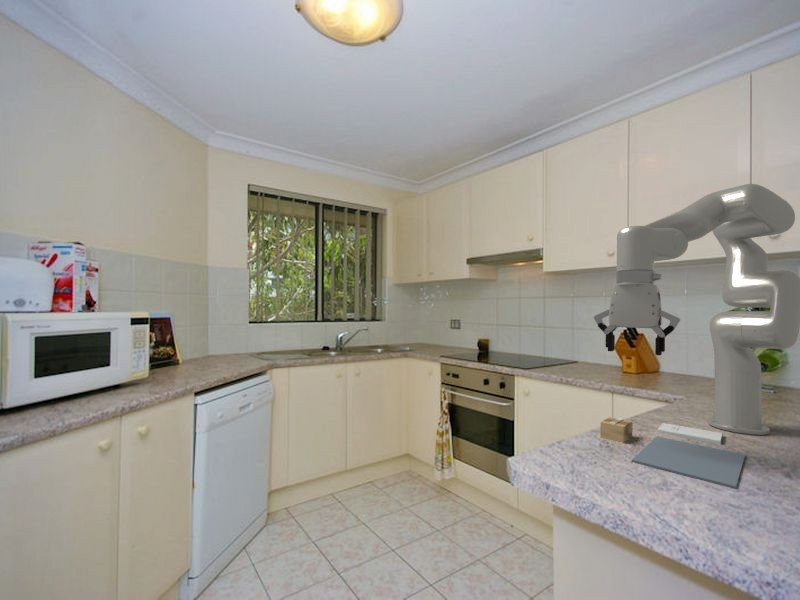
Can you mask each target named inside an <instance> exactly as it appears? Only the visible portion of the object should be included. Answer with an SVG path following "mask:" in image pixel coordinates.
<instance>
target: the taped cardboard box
mask: <svg viewBox="0 0 800 600" xmlns="http://www.w3.org/2000/svg"><path fill="white" fill-rule="evenodd" d="M631 437H632V438H633V420H627V419H624V418H619V417H613V416H610V417H607V418H605V419H603V420H602V421H600V438H601V439H604V440H608V441H612V440H613V441H612V442H616V441H618V442H617V443H620V442H622V444H625V443H626V442H627V441H628V439H629V440H630V439H631ZM625 441H626V442H625Z"/></svg>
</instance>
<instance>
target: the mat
mask: <svg viewBox="0 0 800 600" xmlns="http://www.w3.org/2000/svg"><path fill="white" fill-rule="evenodd" d="M745 458H746V454H743V453H739V452H735V451H729V450H724V449H719V448H714V447H710V446H705V445H700V444H695V443H691V442H686V441H681V440H676V439H671V438H667V437H662V436H656V437H654V439H653V440H651V441H650V442H649V443H648V444H647V445H646V446H645V447H644V448H642V450H641V451H639V452H638V453H637V454H636V455H635V456H634V457H633V458H632V459H631V462H632V463H636V464H640V465H643V466H647V467H650V468H655V469H658V470H663V471H666V472H670V473H674V474H678V475H682V476H686V477H690V478H693V479H698V480H700V481H705V482H708V483H712V484H713V483H714V484H715V485H720V486H725V487H728V488H731V489H737V485H738V483H739V479H740V475H741V472H742V469H743V465H744V463H745V462H744V461H745Z"/></svg>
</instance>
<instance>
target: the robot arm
mask: <svg viewBox="0 0 800 600" xmlns="http://www.w3.org/2000/svg"><path fill="white" fill-rule="evenodd" d="M795 213H796V212H795V210H794V208H793V207H792V205H791V204H790V203H789V202H788V201H787V200H785V199H784V198H782V197H781V196H779V195H778V194H776V193H775V192H774V191H772V190H770V189H769V188H767V187H765V186H762V185H760V184H756V183H747V184H742V185H737V186H734V187H730V188H725V189H722V190H717V191H714V192H711V193H709V194H706V195H704V196H703V197H701V198H699V199H698V200H696V201H694V202H693V203H691V204H689V205H688V206H686V207H684V208H683V209H681V210H679V211H676V212H674V213H671V214H669V215H666V216H665V217H664V216H663V217H662V218H659V219H657V220H655V221H653V222H650V223H648V224H646V225H632V226H627V227H623V228H621V229H619V231H618V232H617V235H616V274H615V275H616V278H615V279H616V282H615V283H616V284H615V285H613V286H612V290H611V296H610V302H609V308H608V309H606V310H604V311H603V312H600V313H598V314H596V315H594V316H593V319H594V321H595V323H596V325H597V327H598V328H599V329H600V330H601V331H602V332H603V334H605V348H607V351H608V352H614V351H615V349H616V346H615V345H616V344H615V341H616V339H615V334H614V332H615V331H616V330H617V329H618V328H628V329H629V328H631V329H633V328H635V329H636V328H637V329H652V331H654V333H655V334H656V337H655V345H654V347H655V349H654V350H655V352H654V353H655V355H656V356H662V355H663V353H665V352H666V338H667V336H669V335H670V334H671V333H672V332H673V331H675V329H676V328H677V326H678V325H679V323H680V322H681V318H680V317H678V316H676V315H674V314H671V313H669V312H666V311H665V310H662V301H661V293H660V288H659V285H657V284H655V282H656V281H661V280H662V278H663V277H662V276H663V275H662V273H656V272H655V262H661V261H670V260H674V259H676V258H679V257H681V256H683V255H684V254H685V253H686V251H687V249H688V246H689V242H692V241H695V240H700V239H702V238H703V237H705V236H706V235H708V234H709V233H711V232H712V233H713V236H714V238H716V240H717V241H718V243H719V244H720V246H721V249H723V251H724V253H725V256H726V265H725V271H724V278H723V284H722V300H723V302H724V303H725V304H726V305H728V306H731V307H734V308H770V310H769V311H767V310H766V311H764V310H727V311H722V312H719V313H717V314H715V315H713V317H712V318H711V319H710V322H709V331H710V336H711V341H712V345H713V346H712V347H713V355H714V416H713V417H709V418H707V424H708V425H709V426H712V427H714V428H717V429H719V430H723V431H729V432H732V433H733V432H734V433H738V434H746V435H756V436H764V435H769V434H770V433H771V428H770V427H768V426H767V425H765V424H763V422H762V421H763V420H762V416H763V415H762V413H763V411H762V406H763V405H762V404H763V402H762V400H763V399H762V364H761V362H760V361H761V360H760V359H759V357H758V356H757V355H756V354H755V352H754V351H753V350H752V349H751V348H756V349H757V348H759V349H771V350H773V349H774V350H785V349H789V348H793V346H794V345H795V344H796V342H797V341H798V339H799V333H800V276H799V275H798V274H796V273H795V272H794V271H790V270H768V262H769V261H768V260H769V256H768V254H767V252H766V251H765V250H764V248H763V247H761V246H760V245H759V244H758V243H756V242H755V241H754V240H752V239H753V238H761V237H767V236H775V235H779V234H784V233H786V232H788V231H789V230H790V229H792V227H793V226H794V224H795V221H796V214H795ZM607 317H608V323H609V325H607V324H605V323H604V321H603V319H604V318H607ZM663 319H666V320H668V321H670V322H669V323H668V326H666V327H665V328H664V329H663V328H662V322H663Z"/></svg>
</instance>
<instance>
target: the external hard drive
mask: <svg viewBox="0 0 800 600" xmlns="http://www.w3.org/2000/svg"><path fill="white" fill-rule="evenodd" d="M658 432H659V434H665V435H668V436H669V435H670V436H675V437H680V438H685V439H690V440H693V441H701V442H706V443H711V444H717V445H722V441H723V437H724V436H723V435H724V433H723V432H717V431H714V430H713V431H712V430H707V429H706V430H705V429H701V428H695V427H690V426H684V425H683V426H682V425H677V424H673V423H665V422H662V423H661V425H660V426H659V427H658V428H657V433H658Z"/></svg>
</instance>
